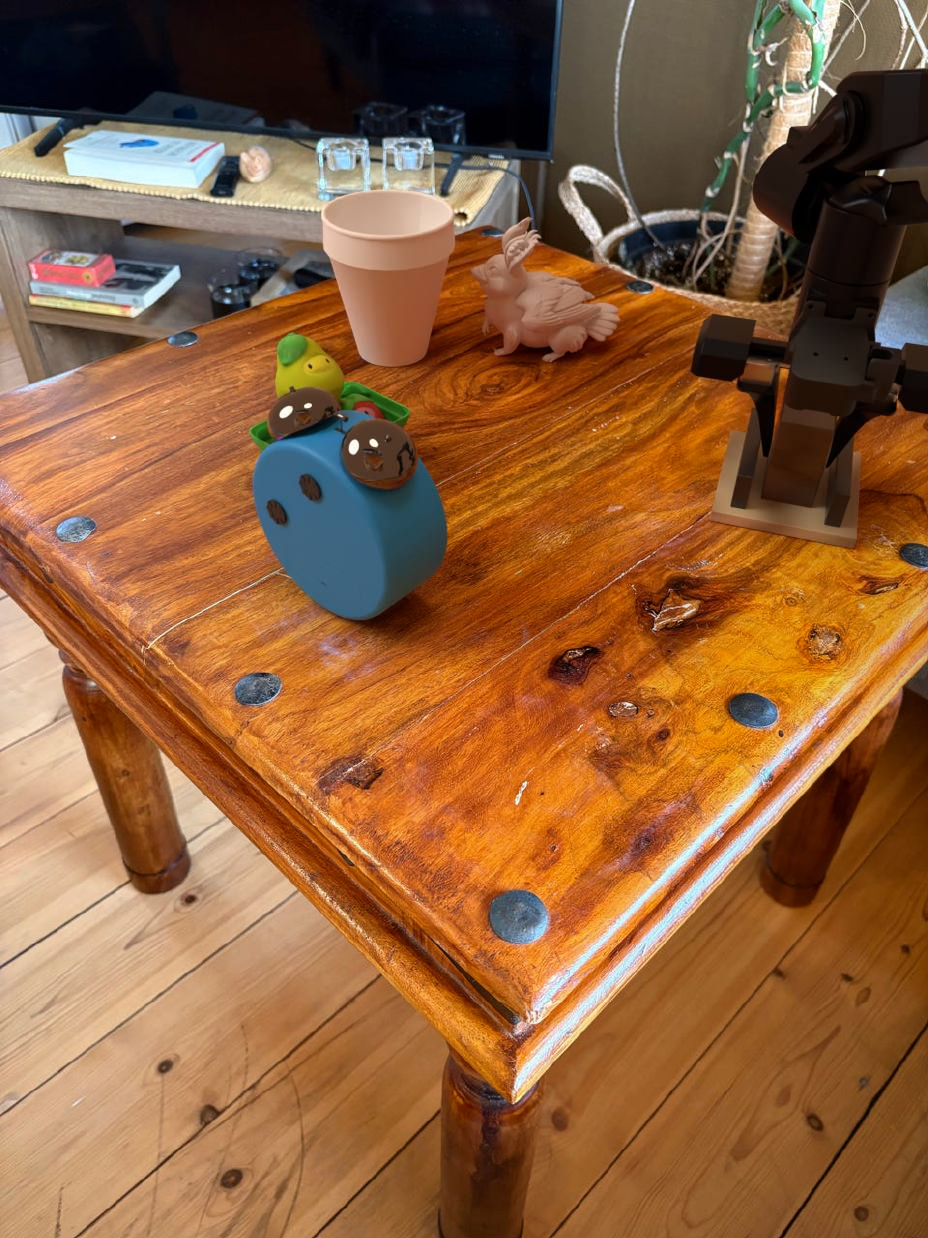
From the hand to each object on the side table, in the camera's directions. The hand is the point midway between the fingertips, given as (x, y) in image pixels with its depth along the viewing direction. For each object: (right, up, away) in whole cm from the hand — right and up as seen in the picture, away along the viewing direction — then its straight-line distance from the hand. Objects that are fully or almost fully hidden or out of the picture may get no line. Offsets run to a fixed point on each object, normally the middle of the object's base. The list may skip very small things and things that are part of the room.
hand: (795, 460), depth 80 cm
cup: (-34, +14, +19) cm, 41 cm away
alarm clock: (-35, -11, -9) cm, 37 cm away
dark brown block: (0, -2, +1) cm, 2 cm away
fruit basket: (-38, -1, +3) cm, 38 cm away
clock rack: (0, -2, +2) cm, 3 cm away
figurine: (-19, +15, +21) cm, 31 cm away
